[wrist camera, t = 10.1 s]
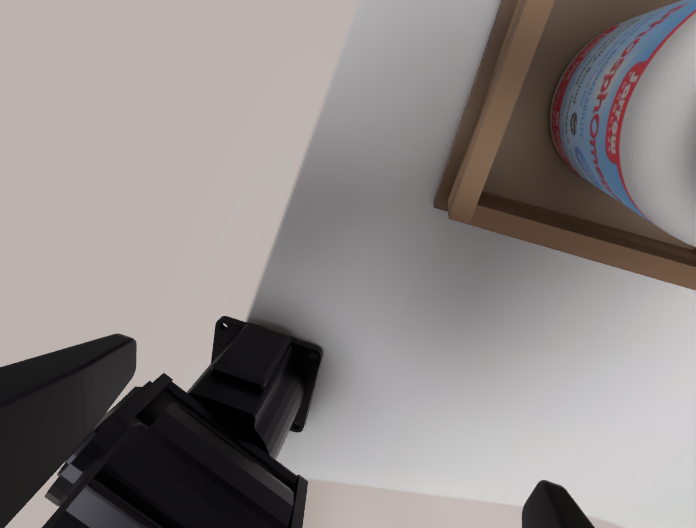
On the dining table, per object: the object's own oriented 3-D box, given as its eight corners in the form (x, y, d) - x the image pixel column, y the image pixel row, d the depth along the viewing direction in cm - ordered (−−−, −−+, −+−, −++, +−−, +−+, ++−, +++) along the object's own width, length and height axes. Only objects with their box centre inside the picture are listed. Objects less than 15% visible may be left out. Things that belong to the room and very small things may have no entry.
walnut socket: (696, 278, 19) (754, 321, 15) (434, 202, 20) (431, 226, 16) (910, -43, 14) (1070, -87, 10) (541, -119, 15) (572, -183, 11)
